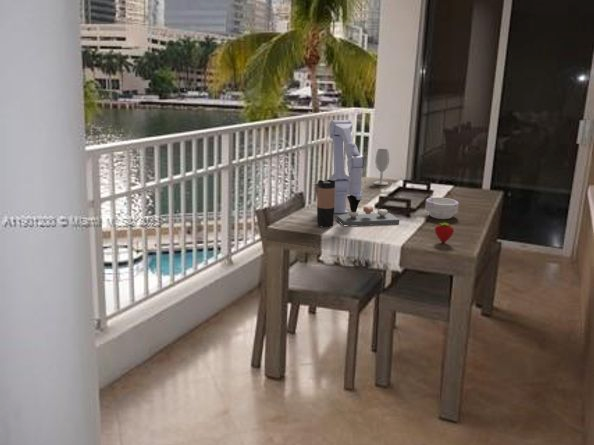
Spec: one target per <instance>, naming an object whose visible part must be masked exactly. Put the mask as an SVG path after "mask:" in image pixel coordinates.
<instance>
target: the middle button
mask: <svg viewBox="0 0 594 445" xmlns="http://www.w3.org/2000/svg"><path fill="white" fill-rule="evenodd" d="M362 211H363V212H365V213H364V214H372V213H373V212H374V207H373V206H368V205H367V206H363V210H362Z"/></svg>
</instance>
